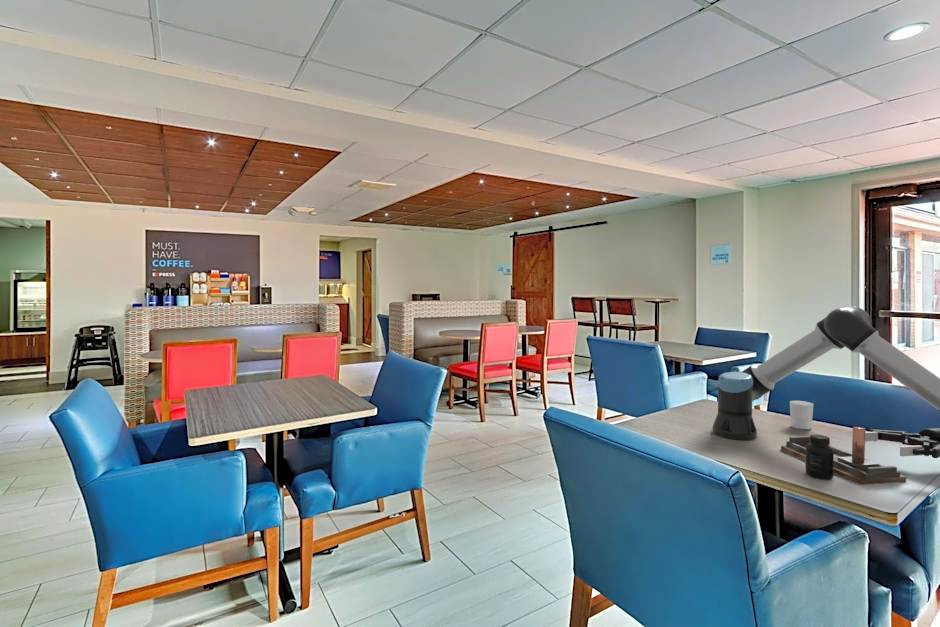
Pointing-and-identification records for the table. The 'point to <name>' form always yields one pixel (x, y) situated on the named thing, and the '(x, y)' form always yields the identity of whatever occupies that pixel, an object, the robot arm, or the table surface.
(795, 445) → the slide board
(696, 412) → the table surface
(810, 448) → the supplement bottle
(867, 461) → the carriage
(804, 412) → the white cup
